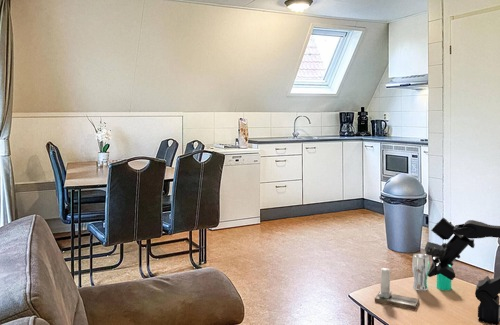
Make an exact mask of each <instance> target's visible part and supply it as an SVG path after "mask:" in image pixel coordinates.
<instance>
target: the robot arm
mask: <svg viewBox="0 0 500 325" xmlns="http://www.w3.org/2000/svg"><path fill="white" fill-rule="evenodd" d="M430 231H431V232H433V233H434V234H435V235H436V236H438V237H439V238H440V239H441V240H443V241H444V240H445V241H447V240H449V239H450V238H451V239H450V240H449V241H448V242H447V243H446V242H444V243H442V244H438V243H434V242H431V241H427V242H426V244H425V247H424V251H425V255H428V256H431V259H432V260H431V261H432V263H431V264H430V266H429V272H428V274H427V275H428V277H429V278H432V277H435V276H437V275H438V274H442V275H444V276H445V277H447V278H449V279H450V280H451V281H453V280H454V279H455V278H456V273H455V271H454V268H453V265H454V261H455V260H456V259H460V258H461V253H463V251H464V250H465V249H466V248H467V247H468V246H469V247H470V248H472V249H474V248H475V239H484V238H497V239H500V225H491V224H487V223H485V222H482V221H478V220H473V219H469V220H467V221H465V222H464V223H460V224H456V225H453V224H452V223H450V222H449V221H448V220H447V219H446V218H445V217H442V218H441V219H440V220H439V221H438V222H437V223H436V224H435V225H434V227H433V228H432V229H431V230H430ZM449 265H450V266H452V268H451V267H449ZM474 294H475V297H476V300H478V301H479V305H478V307H477V317H478V319H477V320H478V322H481V323H484V324H489V325H499V324H500V296H499V294H500V275H499V276H497V277H493V278H490V277H489V276H488V275H487V276H486V277H484V278H483V279H481V280H478V283H477V285H476V287H475V292H474Z"/></svg>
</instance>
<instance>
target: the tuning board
mask: <svg viewBox="0 0 500 325" xmlns="http://www.w3.org/2000/svg"><path fill="white" fill-rule="evenodd" d="M379 293H380V291H378V293H377V295H376V296H375V297H374V302H375V303H379V304H383V305H388V306H389V305H390V306H392V307H393V306H394V307H397V308H398V307H400V308H404V309H409V310H417V307H418V305H419V304H420V298H416V297H412V296H411V297H410V296H406V295H402V294H401V295H400V294H396V293H391V296H390V297H389V299H388V298H383V299H382V297H379Z"/></svg>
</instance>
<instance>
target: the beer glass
mask: <svg viewBox="0 0 500 325" xmlns="http://www.w3.org/2000/svg"><path fill="white" fill-rule="evenodd" d="M411 263H412V264H411V267H412V275H413V286H412V288H413V289H412V290H415V291H418V292H427V291H429V290H428V277H429V276H428V275H427V274H428V272H429V270H430V255H427V254H426V253H413V255H412V262H411Z"/></svg>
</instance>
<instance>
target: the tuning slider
mask: <svg viewBox="0 0 500 325" xmlns="http://www.w3.org/2000/svg"><path fill="white" fill-rule="evenodd" d="M390 274H391V270H390V268H388V267H381V268H380V291H379V292H380V293H379V292H378V293H379V297H382V299H383V298H388V299H389V297H390V296H391V294H392V291H391V290H390V289H391V288H390V287H391V286H390V285H391V284H390V283H391V280H390V279H391V275H390Z"/></svg>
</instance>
